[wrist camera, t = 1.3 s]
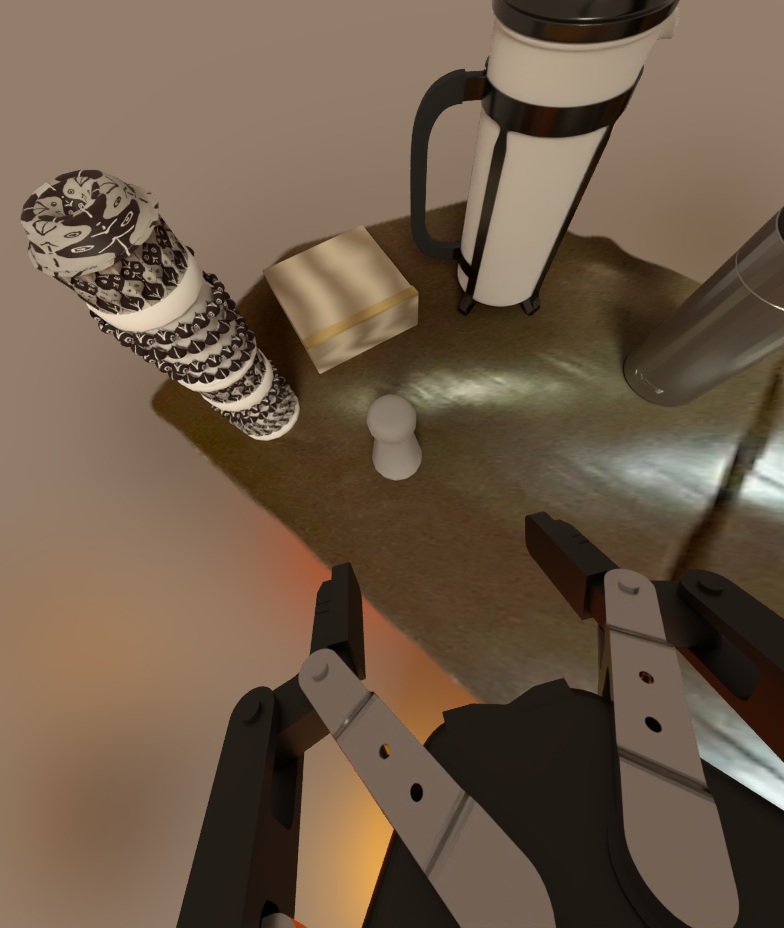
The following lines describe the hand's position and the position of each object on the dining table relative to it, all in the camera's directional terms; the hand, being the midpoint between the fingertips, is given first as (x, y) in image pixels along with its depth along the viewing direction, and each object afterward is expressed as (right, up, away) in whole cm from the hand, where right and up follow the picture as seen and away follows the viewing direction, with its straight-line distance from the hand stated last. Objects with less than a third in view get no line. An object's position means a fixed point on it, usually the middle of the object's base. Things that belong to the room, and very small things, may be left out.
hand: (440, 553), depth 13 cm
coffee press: (+12, +30, +31) cm, 45 cm away
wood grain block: (-9, +27, +32) cm, 43 cm away
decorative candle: (-19, +11, +27) cm, 35 cm away
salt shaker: (-1, +4, +24) cm, 24 cm away
